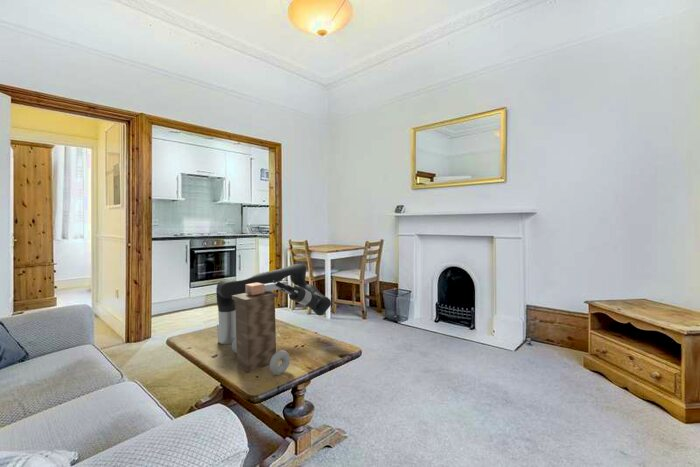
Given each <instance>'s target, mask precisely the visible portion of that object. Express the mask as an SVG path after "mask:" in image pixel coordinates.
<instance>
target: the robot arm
mask: <svg viewBox="0 0 700 467" xmlns="http://www.w3.org/2000/svg"><path fill="white" fill-rule="evenodd" d="M306 276H307V266H306V265H305V264H303V263H295V264H292V265H289V266H286V267H285V266H284V267H282V268H279V269H278V268H277V269H274V270H270V271H265V272H260V273H256V274H254V275H252V276H250V277H247V278H246V279H241V280H240V279H239V280H231V279H222V280H220V281H219V282H218V283H217V285H216V289H215V290H216V303H217V309H218V311H217V312H218V313H217V314H218V324H217V327H216V328H217V330H216V331H217V343H219V344H221V345H230V344H231V345H232V342H233V341H234V339H236V309H235V300H233V299H232V295H237V294H242V293H246V288H245V284H251V283H257V282H258V283H262V284H268V283H274V282H277V284H276V286H278V287H280V288H283V289H278V290H279V291H281V292H284V294H287V295H288V298H289V299H290V300H291V301H294V302H296V303H298V304H300V305H303V306H306V307H307V308H308V309H311V310H312V312H314V314H316V315H317V316H319V317H320V316H324V314H325V313H326V312H327V311H328V309H329V308H330V307H331V305H332V301H331V299H330V298H328V297H327V296H325V295H324V294H323V293H321V292H320V290H319V289H318V288H317V287H316V286H315V285H313V284H311V283H308V282H307V280H306ZM287 277H289V279H290V281H291V282H292V283H293V284H294V285H293V286H292V285H290V284H288V285H286V284H283V283H281V282H279V281H283V280H284V279H285V278H287Z"/></svg>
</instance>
